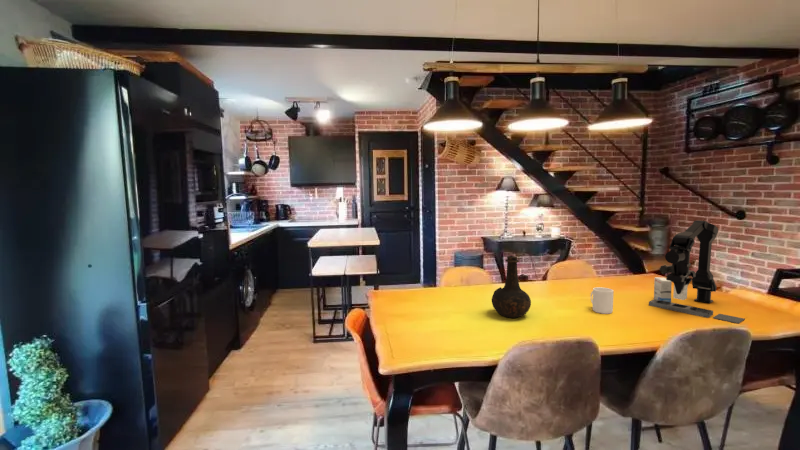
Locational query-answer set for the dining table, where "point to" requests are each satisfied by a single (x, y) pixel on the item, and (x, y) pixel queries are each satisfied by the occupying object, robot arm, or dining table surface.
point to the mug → (602, 300)
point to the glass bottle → (511, 294)
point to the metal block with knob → (683, 293)
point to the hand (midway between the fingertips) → (680, 293)
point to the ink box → (662, 289)
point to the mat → (728, 318)
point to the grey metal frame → (681, 308)
